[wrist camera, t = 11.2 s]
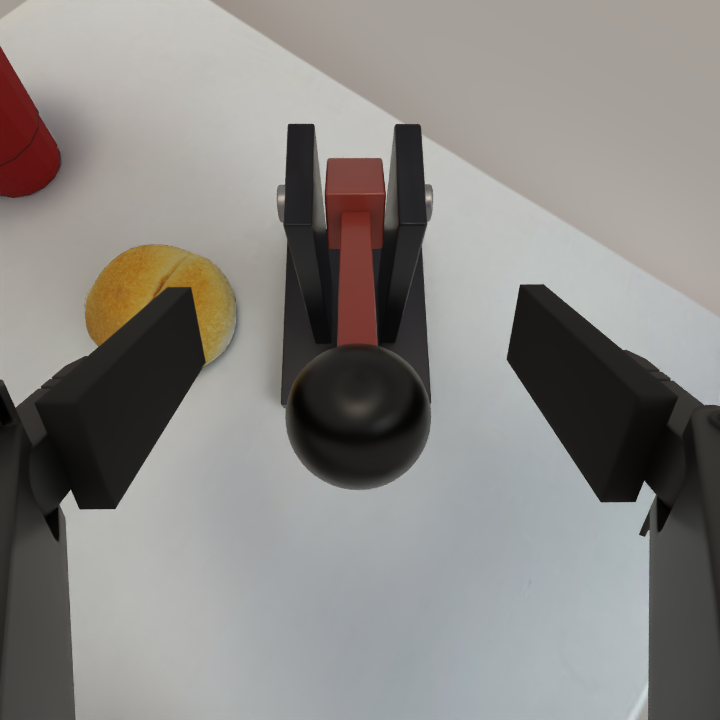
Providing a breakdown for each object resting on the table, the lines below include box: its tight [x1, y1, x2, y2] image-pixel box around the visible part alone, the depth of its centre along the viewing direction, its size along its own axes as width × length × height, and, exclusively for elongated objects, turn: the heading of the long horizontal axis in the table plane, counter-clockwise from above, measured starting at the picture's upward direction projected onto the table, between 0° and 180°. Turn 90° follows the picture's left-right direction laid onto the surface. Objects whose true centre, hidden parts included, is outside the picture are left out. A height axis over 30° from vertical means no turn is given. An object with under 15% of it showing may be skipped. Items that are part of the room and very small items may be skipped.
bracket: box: [277, 124, 433, 408], centre depth 22 cm, size 12×9×14 cm
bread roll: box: [85, 245, 237, 367], centre depth 27 cm, size 8×9×4 cm
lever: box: [286, 158, 431, 490], centre depth 14 cm, size 13×4×4 cm, turn 1°
